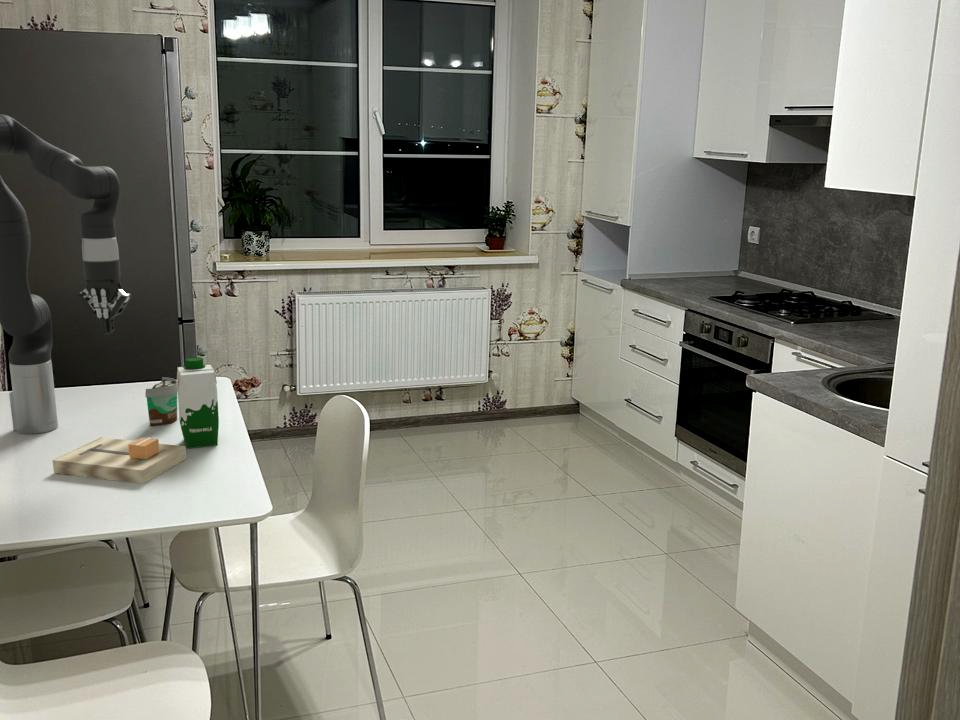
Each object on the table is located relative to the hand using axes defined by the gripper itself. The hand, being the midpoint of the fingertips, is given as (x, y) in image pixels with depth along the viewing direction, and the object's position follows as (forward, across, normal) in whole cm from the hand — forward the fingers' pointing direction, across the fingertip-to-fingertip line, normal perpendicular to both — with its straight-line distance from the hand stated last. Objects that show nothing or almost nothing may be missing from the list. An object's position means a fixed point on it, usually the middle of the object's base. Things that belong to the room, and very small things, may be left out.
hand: (107, 333), depth 207 cm
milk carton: (+27, -17, -8) cm, 33 cm away
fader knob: (+24, -15, +11) cm, 30 cm away
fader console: (+27, -9, +11) cm, 31 cm away
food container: (+27, 0, -21) cm, 34 cm away
